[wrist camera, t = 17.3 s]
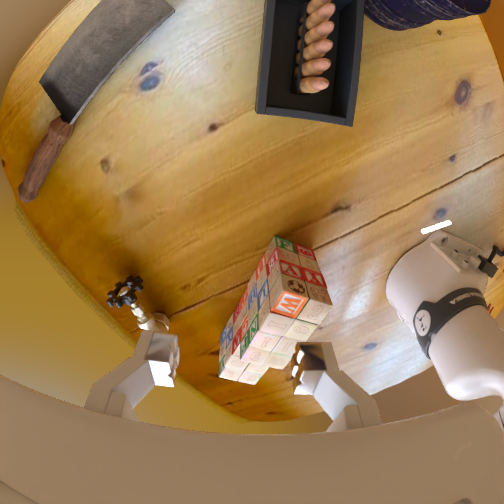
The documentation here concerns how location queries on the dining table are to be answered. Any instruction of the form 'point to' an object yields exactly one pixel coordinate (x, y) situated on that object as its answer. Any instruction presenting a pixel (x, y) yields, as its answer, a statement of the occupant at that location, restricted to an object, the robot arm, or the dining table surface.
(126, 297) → the valve
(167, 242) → the dining table surface
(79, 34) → the meat cleaver
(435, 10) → the dark blue cylinder
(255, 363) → the stack of blocks
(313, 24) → the ammunition clip
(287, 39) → the bin
